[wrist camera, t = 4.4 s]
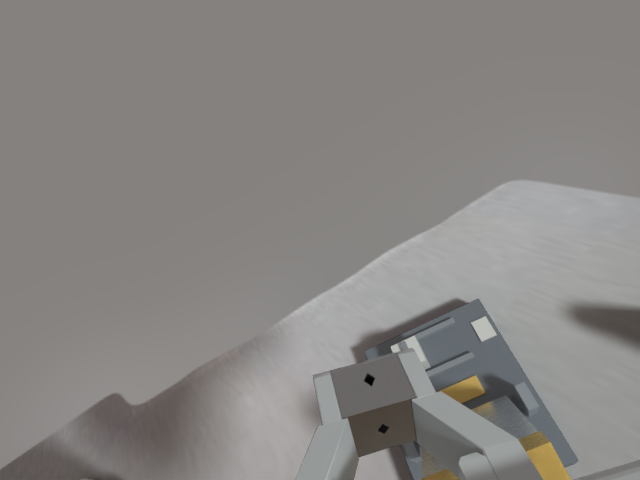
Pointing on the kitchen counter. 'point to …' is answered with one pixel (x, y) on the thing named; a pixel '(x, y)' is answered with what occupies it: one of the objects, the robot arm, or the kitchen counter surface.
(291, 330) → the kitchen counter surface
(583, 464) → the kitchen counter surface
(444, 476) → the lever
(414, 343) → the slide switch
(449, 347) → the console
